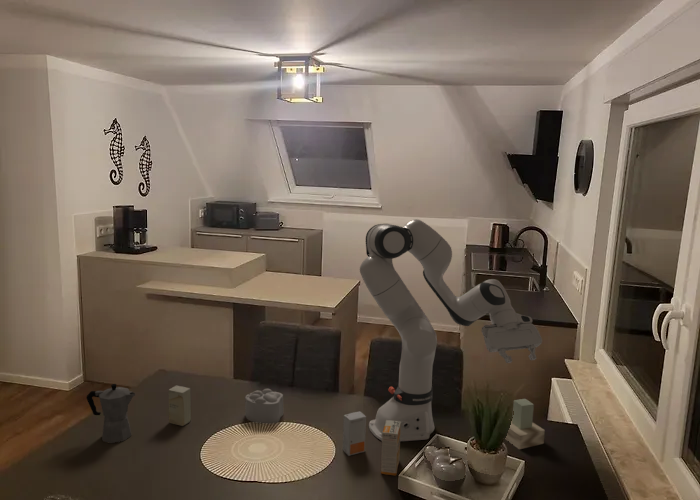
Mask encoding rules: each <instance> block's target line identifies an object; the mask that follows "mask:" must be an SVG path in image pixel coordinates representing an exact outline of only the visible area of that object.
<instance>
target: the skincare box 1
mask: <svg viewBox="0 0 700 500" xmlns="http://www.w3.org/2000/svg"><path fill="white" fill-rule="evenodd" d="M191 400H192V399H191V387H185V386H181V385H177V384H176V385H174V386H173V387H171V388H169V389H168V423H170V424H172V425H178V426H181V427H184V426H185V425H187V424H189V423H191V416H192V415H191V409H192V408H191V407H192V406H191Z"/></svg>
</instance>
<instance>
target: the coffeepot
mask: <svg viewBox="0 0 700 500" xmlns="http://www.w3.org/2000/svg"><path fill="white" fill-rule="evenodd" d="M110 387H111V388H106V389H105V390H91V391H90V392H89V393H88V394H86V401H87V402H88V405H89V407H90V410H91V412H92V414H93V415H94V416H101V414H102V415H103V418H104V419H103V427H102V435H101V436H102V438H101V439H102V441H103V442H104V441H105V443H106V442H109V443H108V444H115V442H118V443H121V442H124V441H126V440H128V439H129V438H130V437H131V436H132V430H131V426H130V425H131V424H130V422H129V417H128V410H129V409H128V408H129V405H130V403H131V401H132V399H133V397H134V396H136V393H135V392H134V391H130V389H129V388H127V387H122V386H117V383H112V384H110ZM93 397H95V398H99V401H100V402H99V403H100V406H101V410H102V412H99V411H97V407H96V405H95V401H94V399H93ZM127 438H128V439H127ZM120 441H121V442H120Z"/></svg>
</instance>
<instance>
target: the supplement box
mask: <svg viewBox="0 0 700 500" xmlns="http://www.w3.org/2000/svg"><path fill="white" fill-rule="evenodd" d="M400 432H401V422H400V421H391V420H386V422H385V425H384V428H383V432H382V441H381V458H380V459H381V460H380V461H381V463H380V465H381V466H380V473H381V474H382V475H387V476H388V475H389V476H397V473H398V467H399V464H400V453H401V452H400V451H401V449H400V448H401V441H400Z"/></svg>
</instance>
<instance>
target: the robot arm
mask: <svg viewBox="0 0 700 500" xmlns="http://www.w3.org/2000/svg"><path fill="white" fill-rule="evenodd" d="M365 250H366V253H365V254H366V256H367V257H366V258H364V260H363V261H362V262H361V264H360V266H359V272H360V276H361V278H362V280H363V283H364V284H365V286H366V288H367V289H368V292H369V293H370V294H371V296H372V297H373V300H374V301H375V303H376V304H378V306H379V308H380V310H381V311H382V312H383V314H384V315H385V317H387V319H388V320H389V322H390V323H392V325H393V327H394V328H395V329H396V330H397V332H398V333H399V336H400V338H401V355H400V362H399V371H398V372H399V373H398V385H397V386H396V389H395V388H394V387H393V386H389V388H388V392H389V393H390V394H391V395H393V396H392V397H391V398H390V399H389V400H387V401H386V402H385V403H384V404H382V405H381V406H380V407H379V408H378V409H377V412H376V415H375V419H372V420H370V421H369V423H368V428H369V429H368V430H370V432H371V434H372V435H373V436H374V437H375V438H377V439H379V440H380V441H381V442H382V432H383V428H384V425H385V422H386V420H391V421H400V422H401V432H400V442H409V441H410V442H411V441H421V440H425V441H426V440H428V439H429V438H430V435H431V434H432V433H433V432H434V431H435V423H434V419H433V411H432V402H433V393H434V392H433V391H434V390H433V386H432V385H433V384H432V381H433V366H434V360H435V355H436V349H437V344H438V339H437V338H438V337H437V333H436V331H435V329H434V326H433V325H432V323H431V321H430V320H429V318H428V316H427V315H426V313H425V312H424V310H423V309H422V307H421V306H420V305H419V303H418V302H417V300H416V299H415V297H414V296H413V294H412V293H411V291H410V290H409V288H408V287H407V285H406V284H405V283H404V280H403V279H402V277H401V276H400V275H399V274H398V272H397V270H396V269H395V267H394V263H393V259H396V258H399V257H401V256H402V255H404V254H405V253H407V252H408V253H410V254H411V255H412V256H413V257H414V258H415V259H416V260H417V261H418V262H419V263H420V265H421V266H422V268H423V271H422V276H423V278H424V280H425V282H426V283H427V285H428V286H429V288H430V289H431V291H433V293H434V294H435V295H436V297H437V299H438V300H439V301H440V302H441V304H442V305H443V306H444V307H445V309H446V310H447V312H448V314H449V316H450V318H451V319H452V320H453V322H455V323H456V324H457V325H460V326H463V327H470V326H471V325H472V324H474V323H476V321H477V320H478V319H481V318H482V317H484V316H486V315H487V314H489V320H490V321H491V324H484V325H483V326H482V327H481V330H480V331H481V333H482V334H481V335H482V336H483V340H484V344H485V347H486V349H487V351H488V352H489V353H495V352H496V353H497V352H498V354H499V356H501V357H502V358H503V359H504V361H505V363H506V364H511V363H512V362H513V359H512V356H511V355H508V353H507V351H513V350H514V351H515V350H525V349H527V350H528V351H529V353H530V354H529V355H528V358H529V360H530V361H535V360H537V355H536V348H538V347H539V346H540V345H542V343H543V338H542V336H541V333H540V331H539V330H538V328H537V327H536V325H534V324H533V318H532V317H531V316H528V315H523V314H520V313H517V312H516V310H515V309H514V307H513V306H512V302H511V301H512V300H511V299H510V296H509V295H508V293H507V290H506V288H505V287H504V286H503V284H502V283H501V282H500V281H499V280H498V279H494V278H491V279H490V278H489V279H487V280H486V279H485V280H484V281H482V282H481V283H479V284H477V285H475V286H474V287H473V288H471V289H469V290H468V291H467V292H466V293H464V294H462V295H461V296H457V295H455V293H454V292H453V291H452V290H451V288H450V287H449V286H448V285H447V283H446V281H444V278H443V276H444V275H445V273H446V272H447V270H448V268H449V267H450V264H451V261H452V258H453V251H452V246H451V245H450V244H449V243H448V241H447V240H446V239H445V238H444V237H443V236H442V235H441V234H439V233H438V232H437V231H436V230H435V229H434V228H432V226H430V225H428V224H427V223H426V222H424V221H422V220H421V219H418V218H417V219H412V220H410V221H408V222H406V223H405V224H404V225H403V226H399V225H395V224H391V223H378V224H374V225H373V226H371V227H370V228H369V230H368V231H367V233H366V235H365Z"/></svg>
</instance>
